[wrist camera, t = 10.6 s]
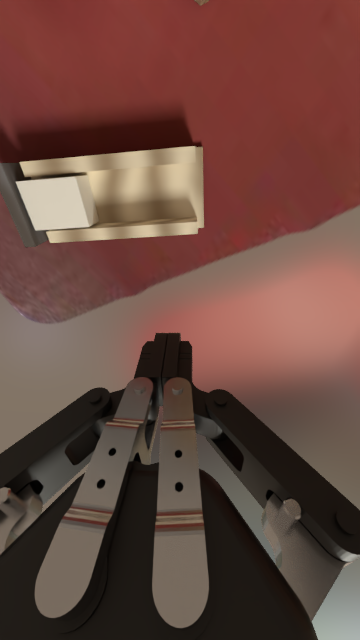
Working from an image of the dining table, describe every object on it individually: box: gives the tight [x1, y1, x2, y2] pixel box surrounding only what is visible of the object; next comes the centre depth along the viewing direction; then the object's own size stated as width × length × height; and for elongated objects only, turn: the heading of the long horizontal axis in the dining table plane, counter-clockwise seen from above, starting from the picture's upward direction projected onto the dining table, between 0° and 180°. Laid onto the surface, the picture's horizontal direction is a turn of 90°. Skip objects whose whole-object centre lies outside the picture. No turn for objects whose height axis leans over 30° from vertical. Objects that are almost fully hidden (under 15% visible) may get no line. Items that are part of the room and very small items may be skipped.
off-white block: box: [16, 175, 99, 231], centre depth 32 cm, size 8×6×4 cm
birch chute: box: [0, 146, 204, 247], centre depth 32 cm, size 26×10×6 cm, turn 94°
